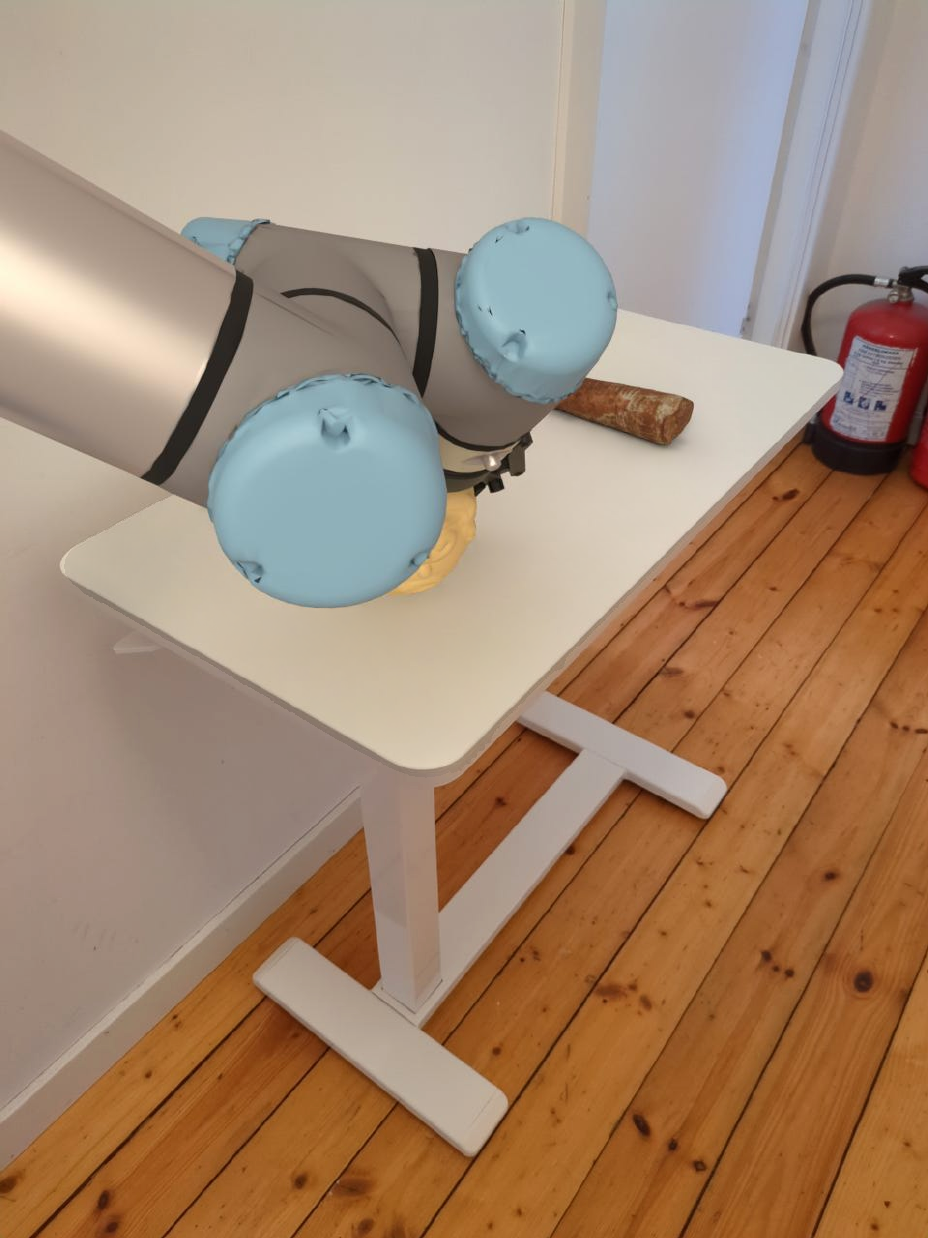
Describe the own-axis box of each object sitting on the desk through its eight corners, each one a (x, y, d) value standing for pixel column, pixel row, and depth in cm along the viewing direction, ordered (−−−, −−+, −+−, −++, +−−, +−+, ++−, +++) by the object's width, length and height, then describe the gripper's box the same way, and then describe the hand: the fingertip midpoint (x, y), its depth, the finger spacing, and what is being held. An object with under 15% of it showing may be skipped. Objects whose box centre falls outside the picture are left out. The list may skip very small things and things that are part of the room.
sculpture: (360, 631, 69) (346, 511, 62) (314, 551, 77) (298, 438, 71) (494, 592, 72) (495, 475, 66) (436, 520, 81) (432, 409, 74)
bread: (667, 457, 97) (673, 410, 94) (529, 408, 108) (530, 364, 104) (696, 435, 101) (703, 389, 98) (560, 390, 111) (562, 347, 108)
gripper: (280, 521, 49) (258, 591, 70) (647, 434, 57) (529, 521, 77) (241, 394, 50) (231, 501, 71) (610, 323, 57) (503, 439, 78)
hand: (387, 511), depth 74 cm, fingers closed on sculpture, 11 cm apart
